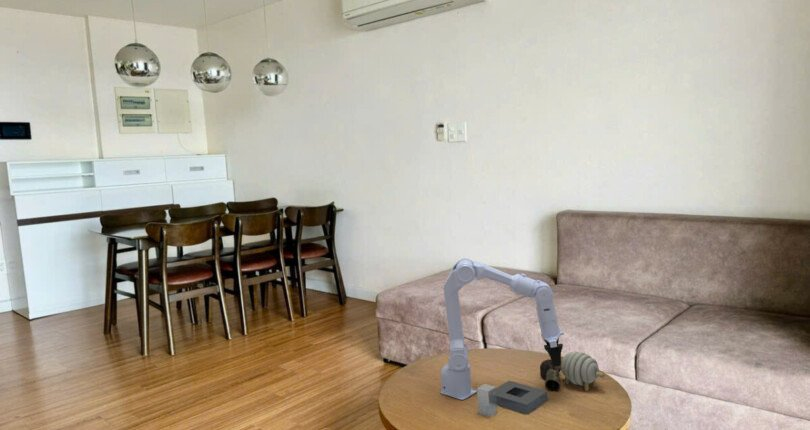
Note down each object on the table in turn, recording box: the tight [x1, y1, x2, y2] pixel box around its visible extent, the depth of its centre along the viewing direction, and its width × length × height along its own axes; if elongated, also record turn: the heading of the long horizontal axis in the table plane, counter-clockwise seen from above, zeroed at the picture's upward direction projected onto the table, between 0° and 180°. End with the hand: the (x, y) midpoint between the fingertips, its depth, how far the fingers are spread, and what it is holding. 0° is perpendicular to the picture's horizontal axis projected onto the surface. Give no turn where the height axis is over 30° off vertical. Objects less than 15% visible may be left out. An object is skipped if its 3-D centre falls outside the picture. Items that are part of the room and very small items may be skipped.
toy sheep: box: [558, 351, 606, 392], centre depth 183 cm, size 11×17×11 cm, turn 43°
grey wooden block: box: [476, 383, 498, 418], centre depth 168 cm, size 4×4×8 cm
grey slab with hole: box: [496, 380, 549, 415], centre depth 175 cm, size 14×12×3 cm
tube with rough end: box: [539, 358, 562, 393], centre depth 189 cm, size 18×7×6 cm, turn 164°
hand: (556, 361), depth 179 cm, fingers open, 7 cm apart
